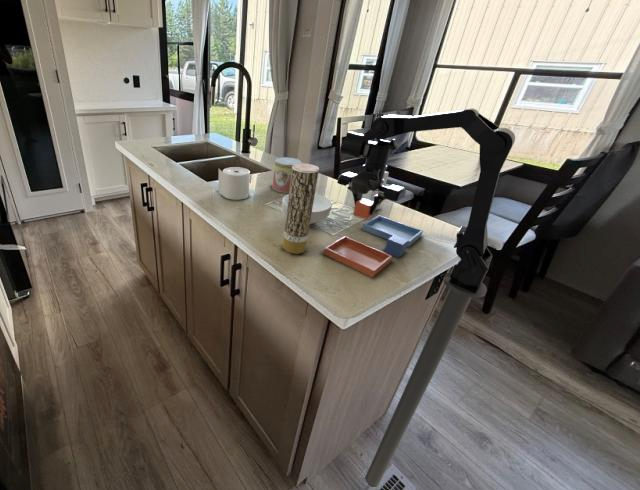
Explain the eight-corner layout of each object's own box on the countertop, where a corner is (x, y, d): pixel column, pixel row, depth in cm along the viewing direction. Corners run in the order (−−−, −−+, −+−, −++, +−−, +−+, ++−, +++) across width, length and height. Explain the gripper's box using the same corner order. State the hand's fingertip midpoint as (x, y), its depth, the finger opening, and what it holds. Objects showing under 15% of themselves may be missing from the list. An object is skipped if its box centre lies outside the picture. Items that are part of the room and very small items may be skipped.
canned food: (267, 188, 140) (270, 161, 134) (279, 181, 148) (281, 155, 142) (291, 195, 135) (295, 166, 129) (302, 187, 143) (306, 160, 137)
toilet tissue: (250, 199, 128) (252, 175, 123) (220, 200, 127) (220, 175, 122) (246, 190, 137) (247, 166, 133) (218, 190, 136) (218, 167, 131)
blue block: (404, 252, 98) (408, 240, 96) (398, 257, 95) (402, 245, 93) (390, 246, 100) (394, 234, 98) (383, 251, 98) (387, 239, 95)
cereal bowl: (286, 206, 124) (288, 188, 121) (330, 214, 120) (334, 196, 116) (275, 225, 110) (277, 205, 107) (325, 234, 106) (329, 215, 102)
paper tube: (291, 240, 101) (302, 161, 89) (309, 249, 97) (323, 167, 85) (277, 248, 97) (287, 166, 85) (296, 257, 93) (309, 172, 81)
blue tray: (421, 236, 107) (423, 230, 106) (407, 247, 100) (409, 241, 99) (377, 220, 117) (378, 215, 116) (362, 229, 110) (363, 224, 109)
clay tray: (390, 262, 93) (392, 255, 92) (372, 277, 86) (374, 270, 85) (343, 241, 102) (344, 235, 101) (323, 253, 95) (324, 247, 94)
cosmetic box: (367, 213, 121) (376, 175, 114) (353, 208, 125) (362, 170, 118) (380, 209, 126) (390, 171, 118) (366, 203, 130) (376, 167, 123)
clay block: (373, 215, 101) (376, 202, 99) (366, 219, 98) (369, 206, 96) (360, 210, 103) (363, 197, 101) (353, 214, 101) (356, 201, 99)
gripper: (332, 159, 93) (323, 208, 101) (396, 176, 82) (381, 231, 90) (352, 153, 100) (342, 200, 108) (413, 168, 89) (398, 219, 96)
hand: (363, 211), depth 100 cm, fingers closed on clay block, 4 cm apart
